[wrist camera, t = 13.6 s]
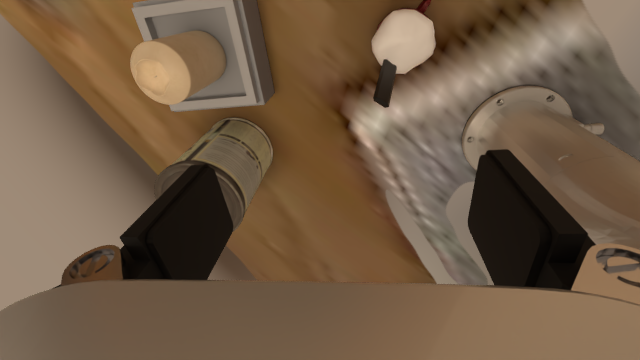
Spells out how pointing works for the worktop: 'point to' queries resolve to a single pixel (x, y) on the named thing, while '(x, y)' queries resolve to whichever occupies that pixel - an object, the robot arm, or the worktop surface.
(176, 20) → the pedestal
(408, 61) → the cocoa
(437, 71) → the worktop surface
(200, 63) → the candle
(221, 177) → the coffee can
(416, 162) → the worktop surface
